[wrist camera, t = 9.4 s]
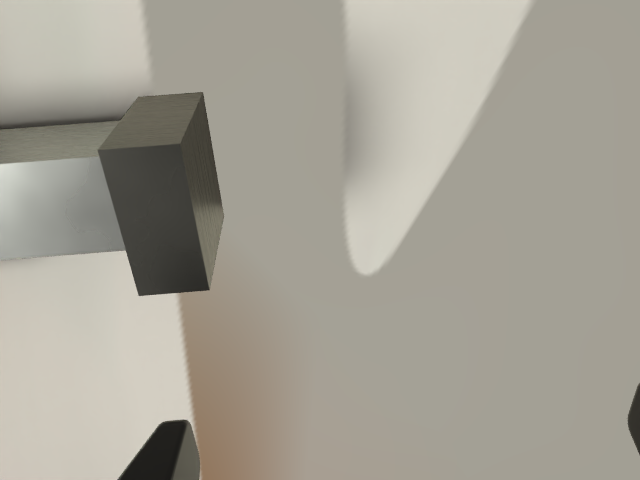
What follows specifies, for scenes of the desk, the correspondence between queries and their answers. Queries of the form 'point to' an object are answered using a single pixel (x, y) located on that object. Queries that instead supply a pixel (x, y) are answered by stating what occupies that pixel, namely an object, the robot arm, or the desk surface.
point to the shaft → (118, 192)
